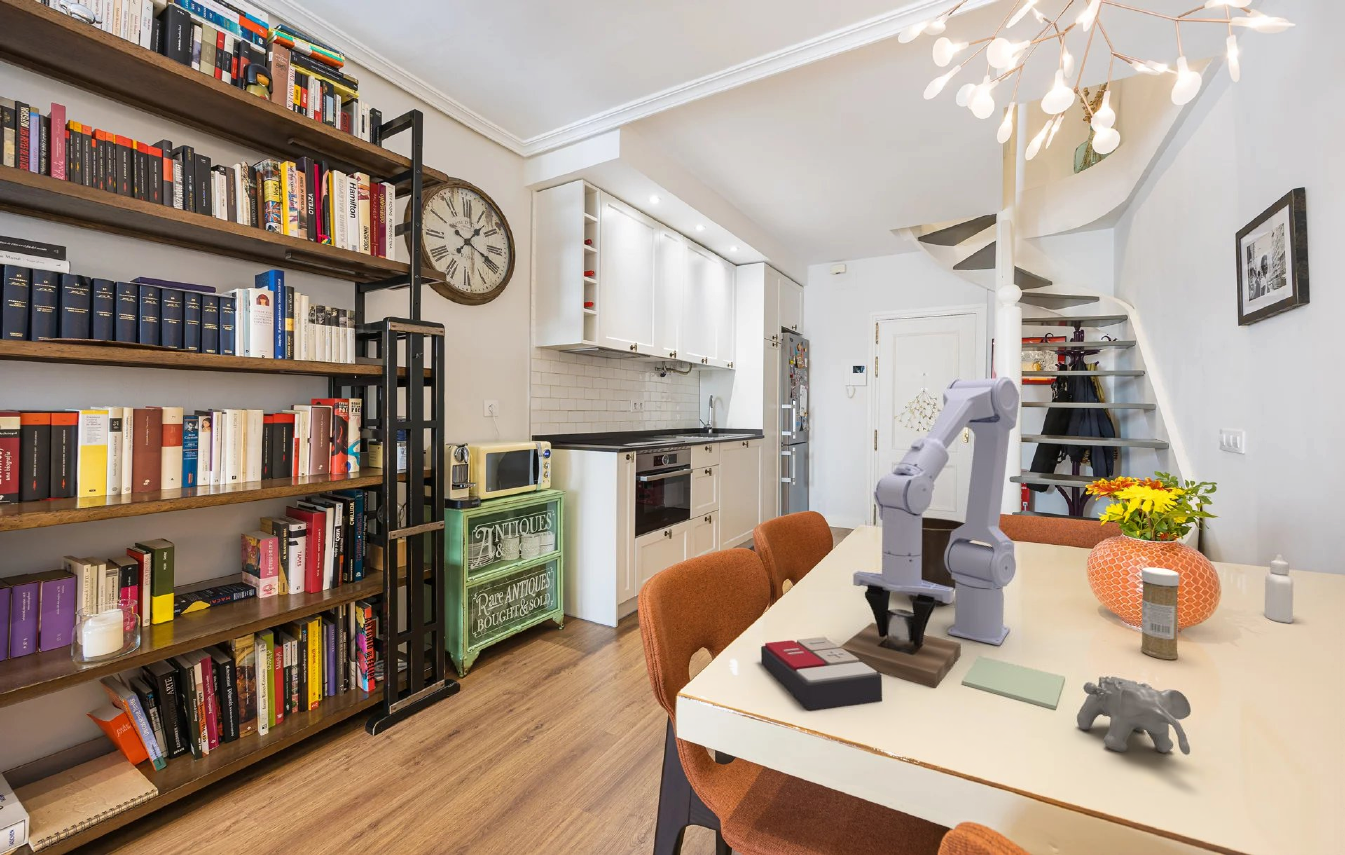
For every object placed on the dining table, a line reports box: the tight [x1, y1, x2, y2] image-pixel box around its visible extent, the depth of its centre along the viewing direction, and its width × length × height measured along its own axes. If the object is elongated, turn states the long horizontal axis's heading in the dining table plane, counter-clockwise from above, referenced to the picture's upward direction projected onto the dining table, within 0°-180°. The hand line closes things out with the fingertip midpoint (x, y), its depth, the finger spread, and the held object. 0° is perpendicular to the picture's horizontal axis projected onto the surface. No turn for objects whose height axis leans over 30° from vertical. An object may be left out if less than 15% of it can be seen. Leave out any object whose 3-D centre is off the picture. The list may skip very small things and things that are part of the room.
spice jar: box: [1140, 566, 1180, 660], centre depth 91 cm, size 5×5×14 cm
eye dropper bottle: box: [1264, 554, 1294, 624], centre depth 108 cm, size 4×6×12 cm
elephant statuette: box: [1076, 675, 1192, 756], centre depth 65 cm, size 9×12×8 cm
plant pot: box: [907, 516, 965, 607], centre depth 118 cm, size 15×15×16 cm
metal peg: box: [887, 608, 915, 655], centre depth 89 cm, size 4×4×7 cm
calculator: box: [760, 636, 883, 712], centre depth 81 cm, size 11×4×15 cm
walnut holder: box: [839, 622, 962, 689], centre depth 89 cm, size 14×14×2 cm
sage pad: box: [961, 655, 1066, 711], centre depth 81 cm, size 11×11×1 cm
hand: (900, 639), depth 89 cm, fingers open, 5 cm apart
